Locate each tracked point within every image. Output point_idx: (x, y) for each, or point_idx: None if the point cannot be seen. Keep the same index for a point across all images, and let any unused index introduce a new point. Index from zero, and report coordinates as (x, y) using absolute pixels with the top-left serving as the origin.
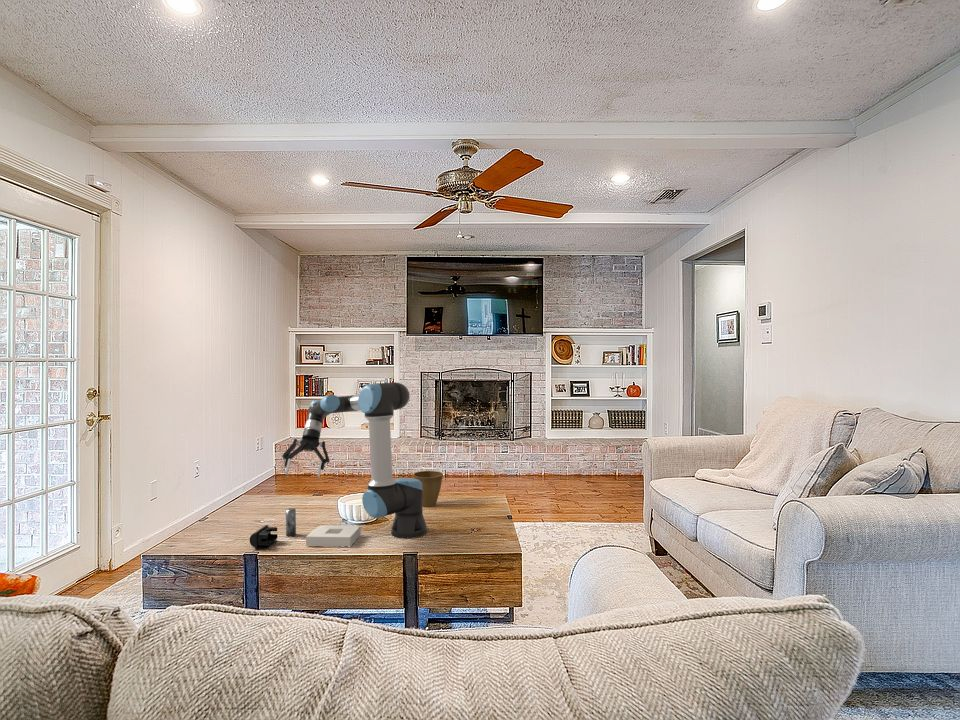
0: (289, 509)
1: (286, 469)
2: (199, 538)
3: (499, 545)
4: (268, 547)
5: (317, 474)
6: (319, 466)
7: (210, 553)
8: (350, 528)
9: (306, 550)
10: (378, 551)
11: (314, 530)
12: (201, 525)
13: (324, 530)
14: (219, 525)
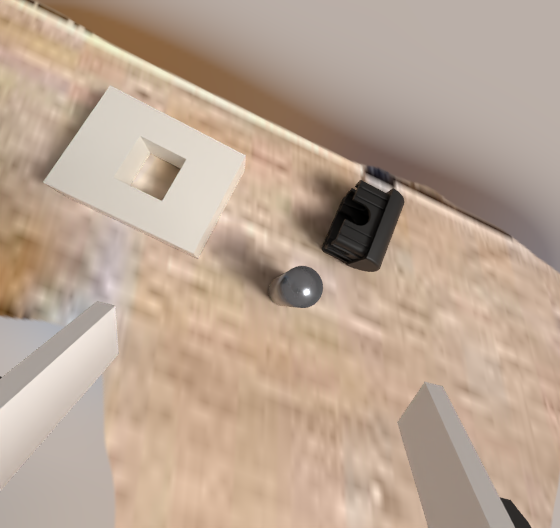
0: (307, 289)
1: (450, 415)
2: (519, 364)
3: None
4: (342, 201)
5: (110, 307)
6: (14, 387)
7: (468, 226)
8: (88, 170)
9: (245, 141)
10: (50, 39)
11: (215, 204)
12: (546, 505)
13: (182, 189)
14: (497, 485)
